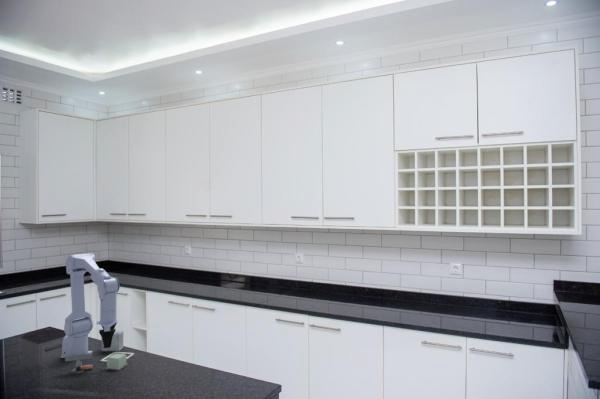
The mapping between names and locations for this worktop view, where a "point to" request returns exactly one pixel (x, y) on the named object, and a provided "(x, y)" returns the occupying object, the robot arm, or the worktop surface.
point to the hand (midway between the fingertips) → (108, 344)
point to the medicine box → (115, 342)
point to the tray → (118, 353)
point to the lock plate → (85, 369)
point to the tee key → (79, 360)
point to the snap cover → (116, 361)
